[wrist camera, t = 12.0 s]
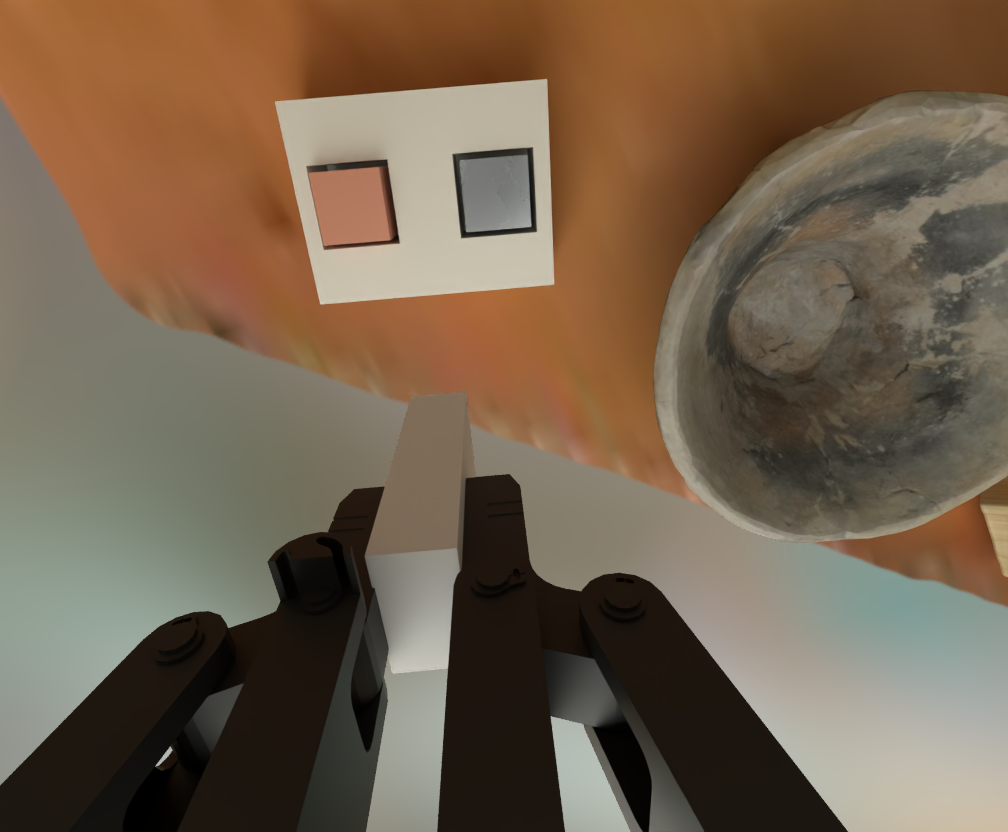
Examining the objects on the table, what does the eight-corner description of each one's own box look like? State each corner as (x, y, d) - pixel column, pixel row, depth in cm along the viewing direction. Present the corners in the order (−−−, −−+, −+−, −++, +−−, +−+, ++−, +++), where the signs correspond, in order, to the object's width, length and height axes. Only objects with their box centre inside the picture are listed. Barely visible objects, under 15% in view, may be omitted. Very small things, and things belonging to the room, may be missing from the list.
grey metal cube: (461, 160, 37) (459, 160, 33) (522, 155, 37) (527, 154, 33) (467, 225, 39) (466, 232, 35) (525, 220, 39) (531, 226, 35)
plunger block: (304, 110, 37) (274, 101, 31) (537, 91, 37) (547, 79, 31) (340, 286, 42) (320, 304, 37) (544, 268, 42) (554, 284, 37)
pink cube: (327, 171, 36) (308, 172, 32) (389, 166, 36) (378, 167, 32) (340, 236, 38) (323, 245, 34) (399, 231, 38) (390, 240, 34)
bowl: (602, 131, 38) (670, 114, 25) (973, 93, 38) (1245, 55, 25) (606, 458, 50) (653, 568, 36) (891, 429, 50) (1045, 529, 36)
